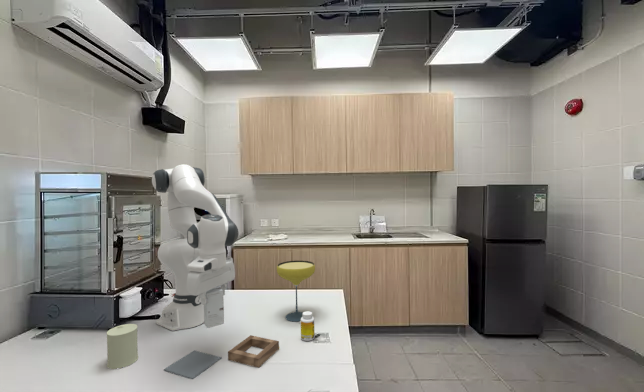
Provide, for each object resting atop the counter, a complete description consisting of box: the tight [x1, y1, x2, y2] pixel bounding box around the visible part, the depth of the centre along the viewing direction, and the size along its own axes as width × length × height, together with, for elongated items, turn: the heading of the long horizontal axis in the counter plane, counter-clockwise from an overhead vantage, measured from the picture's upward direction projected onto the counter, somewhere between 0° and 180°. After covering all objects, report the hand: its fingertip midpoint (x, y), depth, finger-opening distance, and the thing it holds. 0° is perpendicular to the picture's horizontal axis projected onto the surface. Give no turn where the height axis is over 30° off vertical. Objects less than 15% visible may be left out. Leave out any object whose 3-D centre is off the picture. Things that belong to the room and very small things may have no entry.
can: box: [106, 323, 139, 370], centre depth 105 cm, size 9×9×12 cm
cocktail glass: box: [276, 260, 316, 323], centre depth 141 cm, size 18×18×25 cm
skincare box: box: [203, 286, 225, 329], centre depth 105 cm, size 6×4×12 cm
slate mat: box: [163, 350, 222, 380], centre depth 102 cm, size 13×13×1 cm
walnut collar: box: [227, 335, 280, 368], centre depth 108 cm, size 13×13×3 cm
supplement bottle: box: [300, 311, 315, 342], centre depth 119 cm, size 6×6×10 cm
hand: (213, 299), depth 105 cm, fingers closed on skincare box, 7 cm apart
